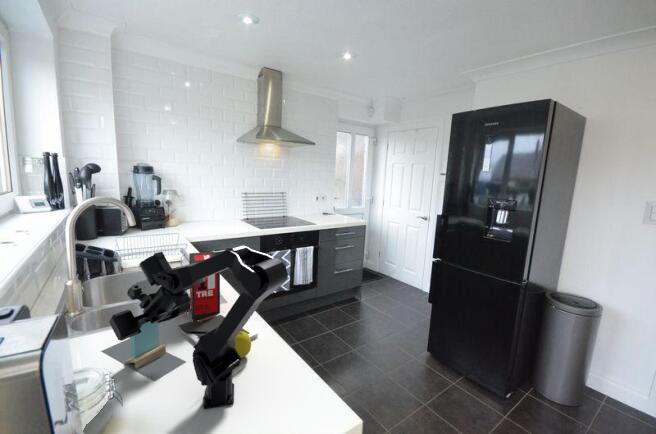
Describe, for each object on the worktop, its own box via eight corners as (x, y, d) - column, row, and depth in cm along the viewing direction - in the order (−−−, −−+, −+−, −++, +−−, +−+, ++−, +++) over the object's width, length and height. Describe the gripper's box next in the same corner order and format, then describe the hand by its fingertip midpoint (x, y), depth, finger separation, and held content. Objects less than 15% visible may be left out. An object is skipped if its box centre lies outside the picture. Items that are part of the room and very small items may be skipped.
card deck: (159, 345, 83) (157, 312, 82) (135, 358, 78) (133, 322, 76) (154, 343, 84) (153, 310, 83) (130, 355, 79) (128, 320, 77)
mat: (186, 363, 80) (186, 361, 80) (154, 382, 72) (154, 381, 72) (134, 337, 91) (134, 336, 91) (101, 352, 83) (101, 351, 83)
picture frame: (178, 333, 96) (211, 361, 83) (178, 325, 95) (211, 351, 82) (222, 317, 108) (257, 339, 95) (222, 309, 108) (257, 330, 95)
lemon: (227, 357, 84) (227, 331, 82) (244, 350, 88) (244, 324, 87) (237, 366, 80) (237, 339, 79) (254, 358, 84) (255, 332, 83)
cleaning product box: (220, 316, 107) (219, 263, 104) (193, 321, 103) (192, 265, 100) (213, 298, 121) (213, 251, 119) (190, 302, 117) (189, 253, 114)
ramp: (166, 354, 84) (165, 344, 83) (137, 370, 76) (136, 359, 76) (154, 349, 86) (154, 339, 85) (125, 364, 79) (125, 353, 78)
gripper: (183, 264, 84) (160, 292, 91) (111, 283, 68) (88, 316, 74) (202, 296, 82) (177, 323, 88) (132, 325, 65) (108, 355, 72)
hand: (141, 328), depth 81 cm, fingers closed on card deck, 6 cm apart
